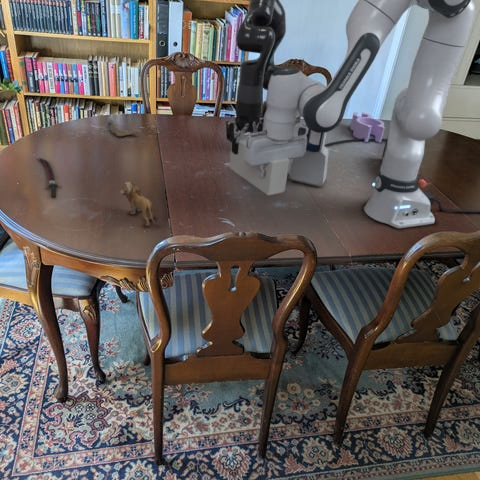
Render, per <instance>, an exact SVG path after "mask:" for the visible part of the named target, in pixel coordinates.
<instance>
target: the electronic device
mask: <svg viewBox="0 0 480 480" xmlns="http://www.w3.org/2000/svg"><path fill="white" fill-rule="evenodd" d="M305 126H306V127H307V128H308V126H307V125H306V124H305ZM311 133H312V130H311V129H309V128H308V134H307V135H306V136H307V146H306V151H305V153H304V155H303V156H302V157H297V158H292V161H291V166H290V169H289V173H288V178H289V180H290V181H292V182H297V183H301V184H305V185H309V186H314V187H318V188H320V187H321V186H322V185H324V183H325V181H326V179H327V173H328V163H329V162H328V161H329V153H330V150H329V149H328V148H327V146H326V147H324V145H325V144H326V140H327V135H328V132H325V133H320V136H319V140H318V144H315V143H311V142H310V139H311Z"/></svg>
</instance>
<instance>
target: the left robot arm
mask: <svg viewBox="0 0 480 480" xmlns="http://www.w3.org/2000/svg"><path fill="white" fill-rule="evenodd" d="M286 18H287V17H286V10H285V7H284V6H283V4H282V2H281V1H280V0H249V4H248V9H247V13H246V15H245V17H244V19H243V21H242V22H241V24H240V26H239V28H238V29H237V32H236V35H235V43H236V47H237V48H238V49H239V50H240V51H242V52H245V53H253V54H255V53H256V54H259V56H258V57H257V58H254V59H248V60H243V61H241V63H240V66H239V77H238V85H237V90H236V101H235V118H234V119H233V120H232V121H230V120H227V121H226V122H225V131H226V140H227V141H229V142H230V143H231V142H232V148H231V147H230V151H231V150H232V152H233V153H234V154H238V147H239V143H238V142H239V140H240V138H241V137H243V135H245V134H247V133H250V135H251V134H252V133H253V132H260V131H263V122H264V115H265V112H266V109H267V104H266V100H264V101H263V95H264V94H263V93H264V90H265V91H267V90H268V85H269V81H270V78H271V75H272V73H273V72H274V71H276V70H278V69H280V68H284V67H285V66H280V65H277V64H276V63H275V54H276V52H277V49H278V48H279V46H280V45H281V43H282V42H283V39H284V38H285V36H286V32H287V22H286V21H287V19H286ZM236 137H237V138H236ZM364 140H365V139H358V138H351V139H343V140H336V141H333V142H329V143H325V145H324V147H326V148H327V147H328V146H332V145H336V144H342V143H348V142H362V141H363V142H364ZM386 140H387V138H382V140H381V142H386ZM369 141H370V142H372V141H373V142H376V141H375V138H369V140H368V142H369Z"/></svg>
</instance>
